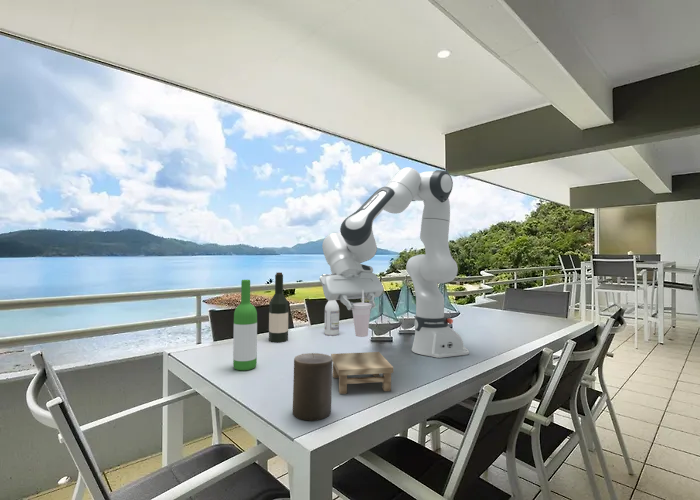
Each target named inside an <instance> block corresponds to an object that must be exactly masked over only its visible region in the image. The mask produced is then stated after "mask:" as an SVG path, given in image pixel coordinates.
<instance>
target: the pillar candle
mask: <svg viewBox="0 0 700 500" xmlns="http://www.w3.org/2000/svg"><path fill="white" fill-rule="evenodd" d="M292 381H293V386H292V387H293V391H292V415H293V416H294V417H295V418H297V419H298V420H304V421H311V422H312V421H313V422H315V421H320V420H324V419H326V418H328V417H330V415H331V414H332V395H333V394H332V390H333V389H332V385H333V384H332V383H333V362H332V357H331V355H329V354H327V353H326V354H325V353H318V352H315V353H314V352H309V353H308V352H307V353H301V354H298V355H296V356H294V358H293V380H292Z"/></svg>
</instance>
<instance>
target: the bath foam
mask: <svg viewBox="0 0 700 500" xmlns="http://www.w3.org/2000/svg"><path fill="white" fill-rule="evenodd" d="M324 334H325V335H326V336H338V335H339V334H340V307H339V303H338V302H337V300H331V301H329V300H327V302H326V304H325V307H324Z"/></svg>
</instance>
